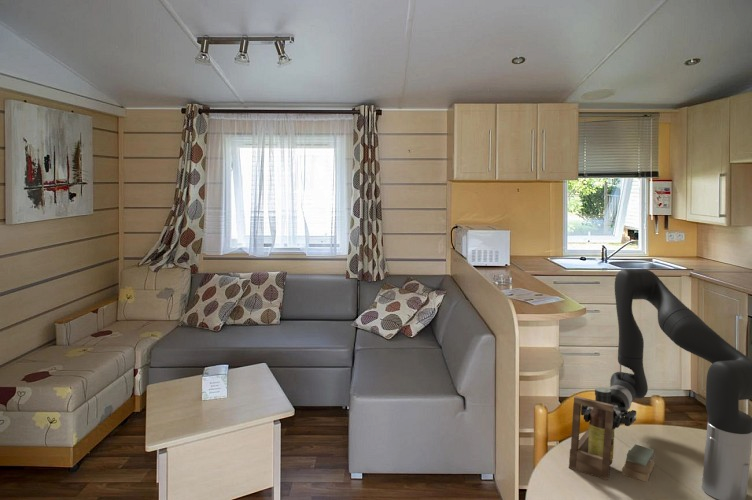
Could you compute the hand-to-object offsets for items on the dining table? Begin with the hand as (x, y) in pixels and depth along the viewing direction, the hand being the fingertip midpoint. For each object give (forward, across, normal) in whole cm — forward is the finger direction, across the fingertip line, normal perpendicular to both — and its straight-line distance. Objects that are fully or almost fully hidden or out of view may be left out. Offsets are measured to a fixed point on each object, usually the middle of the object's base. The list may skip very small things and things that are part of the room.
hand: (599, 421), depth 143 cm
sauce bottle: (-2, 0, +12) cm, 12 cm away
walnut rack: (-3, -1, +13) cm, 14 cm away
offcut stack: (-6, +9, +14) cm, 17 cm away
